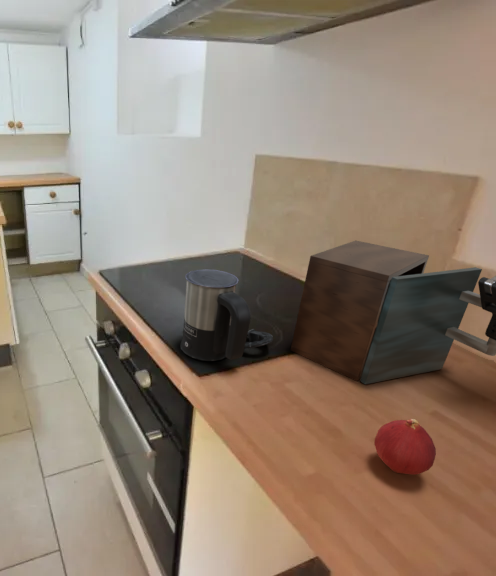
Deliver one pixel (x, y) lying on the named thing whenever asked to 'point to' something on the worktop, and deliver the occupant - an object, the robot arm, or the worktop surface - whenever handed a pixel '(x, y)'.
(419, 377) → the worktop surface
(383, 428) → the onion
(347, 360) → the cupboard
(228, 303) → the milk frother
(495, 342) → the door
